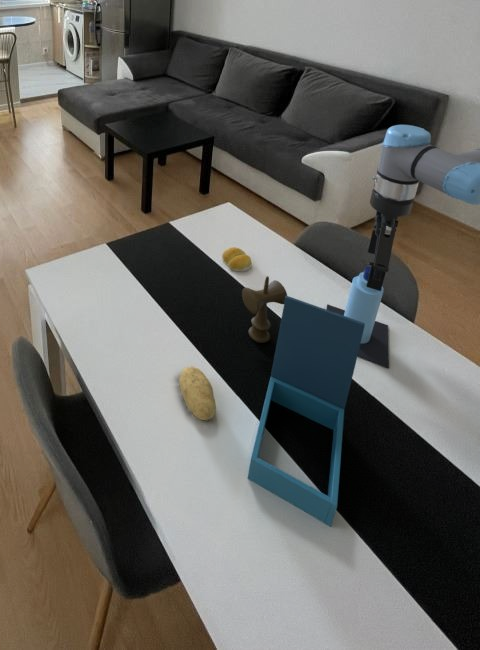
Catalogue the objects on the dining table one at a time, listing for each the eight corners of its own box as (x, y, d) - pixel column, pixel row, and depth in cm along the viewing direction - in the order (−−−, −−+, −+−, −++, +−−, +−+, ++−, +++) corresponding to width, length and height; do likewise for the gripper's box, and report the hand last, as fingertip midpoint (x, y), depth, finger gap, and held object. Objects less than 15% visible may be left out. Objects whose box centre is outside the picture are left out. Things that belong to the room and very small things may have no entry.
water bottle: (370, 329, 111) (387, 267, 103) (369, 347, 106) (388, 284, 98) (341, 319, 114) (356, 258, 106) (340, 336, 109) (355, 274, 102)
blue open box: (329, 533, 74) (337, 506, 71) (246, 484, 81) (250, 458, 78) (337, 434, 88) (344, 409, 86) (266, 400, 96) (270, 376, 93)
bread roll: (235, 276, 131) (236, 265, 130) (217, 257, 139) (218, 247, 138) (257, 268, 134) (259, 258, 132) (238, 251, 141) (240, 241, 140)
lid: (364, 325, 80) (364, 323, 81) (285, 297, 88) (285, 295, 88) (344, 409, 85) (344, 406, 86) (270, 375, 92) (271, 373, 93)
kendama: (235, 332, 113) (242, 272, 105) (266, 322, 115) (275, 263, 107) (250, 351, 107) (258, 290, 100) (282, 340, 110) (293, 280, 102)
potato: (202, 377, 101) (203, 358, 99) (222, 425, 91) (224, 406, 89) (174, 381, 101) (175, 362, 98) (191, 430, 91) (193, 411, 88)
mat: (387, 326, 112) (388, 325, 112) (388, 368, 101) (389, 367, 101) (327, 305, 119) (327, 304, 119) (321, 342, 108) (322, 341, 108)
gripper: (373, 165, 106) (357, 236, 113) (372, 217, 86) (352, 298, 94) (410, 172, 102) (391, 245, 109) (418, 228, 82) (394, 311, 90)
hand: (373, 269), depth 102 cm, fingers open, 13 cm apart
